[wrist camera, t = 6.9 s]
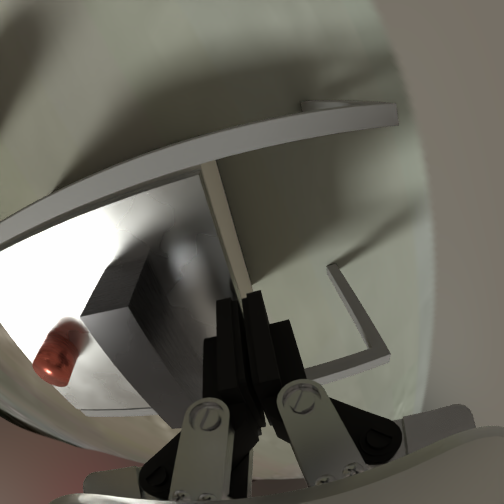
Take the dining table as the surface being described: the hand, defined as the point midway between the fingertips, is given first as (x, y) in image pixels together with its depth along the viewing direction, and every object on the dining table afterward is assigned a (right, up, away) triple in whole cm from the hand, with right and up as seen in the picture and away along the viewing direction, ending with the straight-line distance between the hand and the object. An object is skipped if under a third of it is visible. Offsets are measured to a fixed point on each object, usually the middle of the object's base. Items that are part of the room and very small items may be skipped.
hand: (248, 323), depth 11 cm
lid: (-7, -1, +2) cm, 7 cm away
